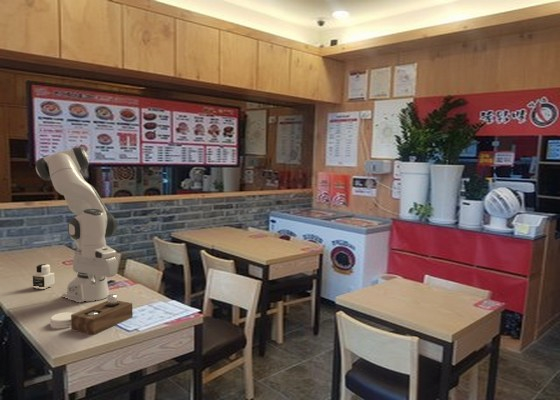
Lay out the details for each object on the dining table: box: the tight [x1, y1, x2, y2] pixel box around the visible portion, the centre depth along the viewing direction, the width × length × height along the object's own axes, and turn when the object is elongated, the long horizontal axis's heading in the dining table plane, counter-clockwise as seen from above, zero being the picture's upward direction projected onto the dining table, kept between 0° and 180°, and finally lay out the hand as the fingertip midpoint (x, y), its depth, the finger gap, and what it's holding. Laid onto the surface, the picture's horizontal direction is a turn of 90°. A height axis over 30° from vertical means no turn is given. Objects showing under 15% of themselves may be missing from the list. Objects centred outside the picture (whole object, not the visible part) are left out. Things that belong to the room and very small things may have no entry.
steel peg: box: [106, 293, 118, 307], centre depth 172 cm, size 4×4×5 cm
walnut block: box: [71, 300, 133, 336], centre depth 168 cm, size 12×20×6 cm, turn 156°
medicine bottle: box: [32, 263, 56, 287], centre depth 214 cm, size 7×7×12 cm
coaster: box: [49, 311, 76, 330], centre depth 167 cm, size 10×10×4 cm
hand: (94, 285), depth 163 cm, fingers closed
